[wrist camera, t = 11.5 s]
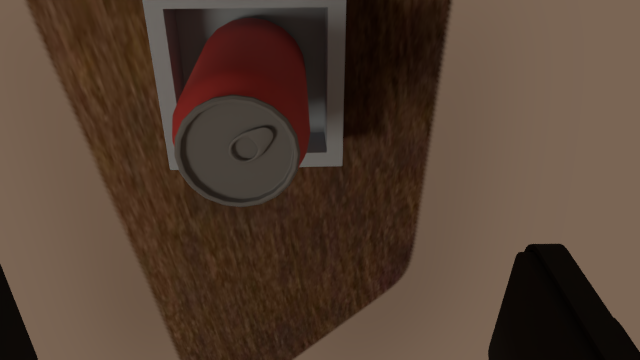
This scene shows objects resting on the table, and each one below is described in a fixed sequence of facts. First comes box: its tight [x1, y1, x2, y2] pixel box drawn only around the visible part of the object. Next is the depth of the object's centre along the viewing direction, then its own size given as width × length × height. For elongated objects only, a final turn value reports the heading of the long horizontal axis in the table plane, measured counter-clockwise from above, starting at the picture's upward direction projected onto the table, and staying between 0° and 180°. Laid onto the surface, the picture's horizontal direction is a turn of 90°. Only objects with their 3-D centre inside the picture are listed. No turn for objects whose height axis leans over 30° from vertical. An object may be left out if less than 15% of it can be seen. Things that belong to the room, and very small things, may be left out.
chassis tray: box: [143, 0, 346, 170], centre depth 33 cm, size 11×11×4 cm
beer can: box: [172, 18, 310, 207], centre depth 29 cm, size 7×7×12 cm
